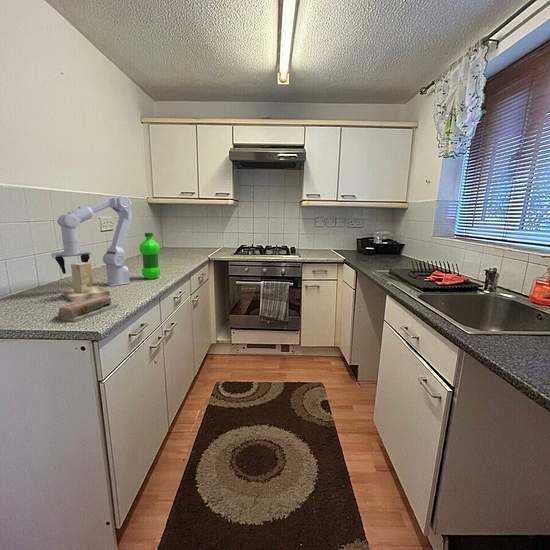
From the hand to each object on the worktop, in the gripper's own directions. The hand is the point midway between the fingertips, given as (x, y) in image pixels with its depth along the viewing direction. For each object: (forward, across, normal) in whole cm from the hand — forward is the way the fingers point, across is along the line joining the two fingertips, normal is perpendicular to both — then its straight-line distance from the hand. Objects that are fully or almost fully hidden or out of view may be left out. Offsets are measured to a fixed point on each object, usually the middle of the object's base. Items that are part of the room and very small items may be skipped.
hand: (74, 272), depth 132 cm
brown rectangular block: (+10, +6, +35) cm, 37 cm away
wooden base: (+9, -1, +10) cm, 13 cm away
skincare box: (+7, 0, +10) cm, 12 cm away
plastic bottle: (+9, -37, -4) cm, 38 cm away
